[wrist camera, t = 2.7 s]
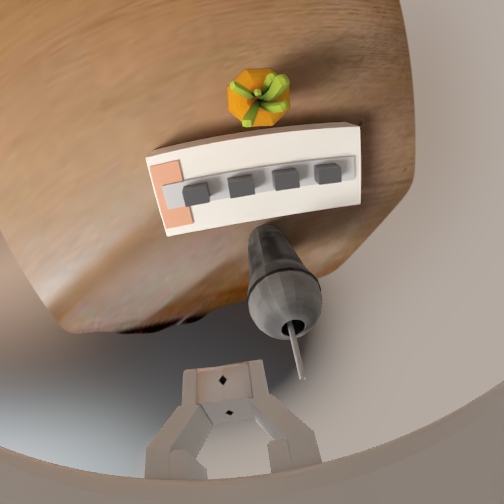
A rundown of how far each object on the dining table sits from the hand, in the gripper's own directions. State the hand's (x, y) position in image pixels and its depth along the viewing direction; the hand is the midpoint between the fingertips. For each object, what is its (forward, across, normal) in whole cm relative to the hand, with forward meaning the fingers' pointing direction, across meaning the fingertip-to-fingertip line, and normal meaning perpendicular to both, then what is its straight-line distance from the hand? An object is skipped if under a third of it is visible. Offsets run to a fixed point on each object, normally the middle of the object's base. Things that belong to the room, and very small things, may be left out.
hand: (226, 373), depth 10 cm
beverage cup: (+26, -4, +9) cm, 28 cm away
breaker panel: (+26, -4, 0) cm, 26 cm away
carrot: (+26, -4, -9) cm, 28 cm away
